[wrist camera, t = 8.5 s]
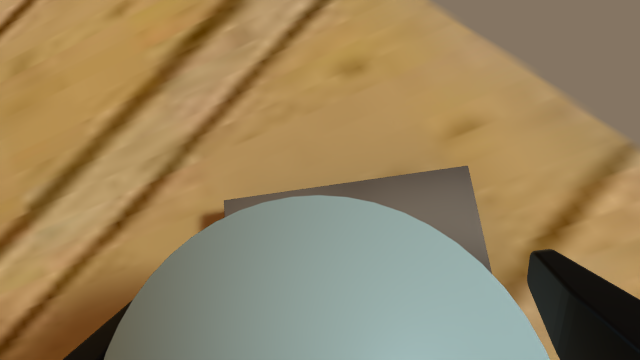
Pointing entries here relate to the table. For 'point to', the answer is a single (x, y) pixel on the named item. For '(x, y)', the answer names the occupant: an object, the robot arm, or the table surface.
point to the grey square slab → (409, 202)
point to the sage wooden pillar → (323, 292)
